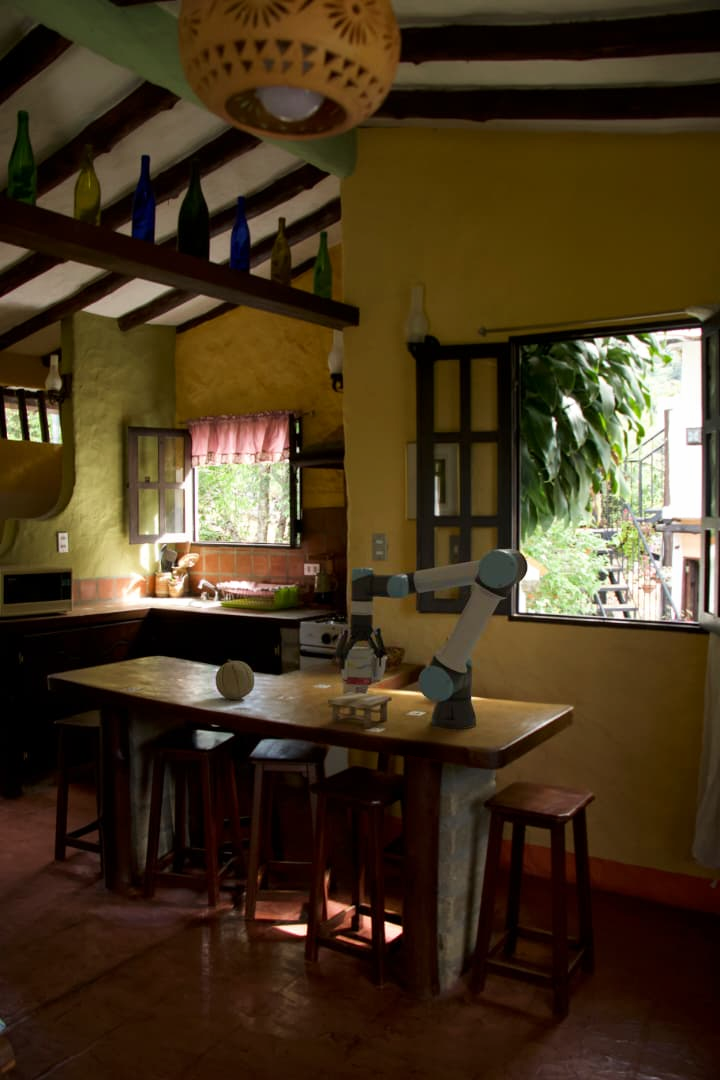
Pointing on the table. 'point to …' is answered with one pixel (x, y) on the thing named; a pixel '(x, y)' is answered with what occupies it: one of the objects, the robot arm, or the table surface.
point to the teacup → (381, 668)
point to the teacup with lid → (354, 688)
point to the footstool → (359, 706)
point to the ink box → (360, 666)
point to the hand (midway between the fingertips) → (360, 677)
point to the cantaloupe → (234, 680)
